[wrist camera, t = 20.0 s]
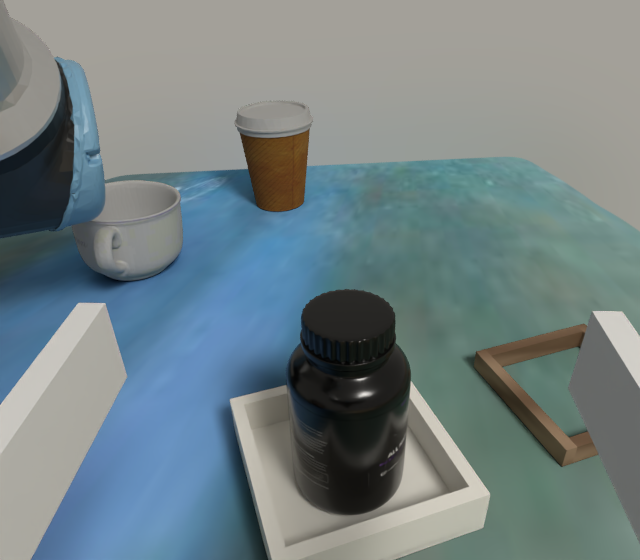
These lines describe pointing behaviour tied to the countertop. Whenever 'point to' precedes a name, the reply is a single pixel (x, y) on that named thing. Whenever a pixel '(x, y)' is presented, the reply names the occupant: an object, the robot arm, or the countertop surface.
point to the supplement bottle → (348, 403)
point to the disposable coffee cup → (276, 151)
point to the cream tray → (369, 528)
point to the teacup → (133, 231)
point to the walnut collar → (522, 403)
